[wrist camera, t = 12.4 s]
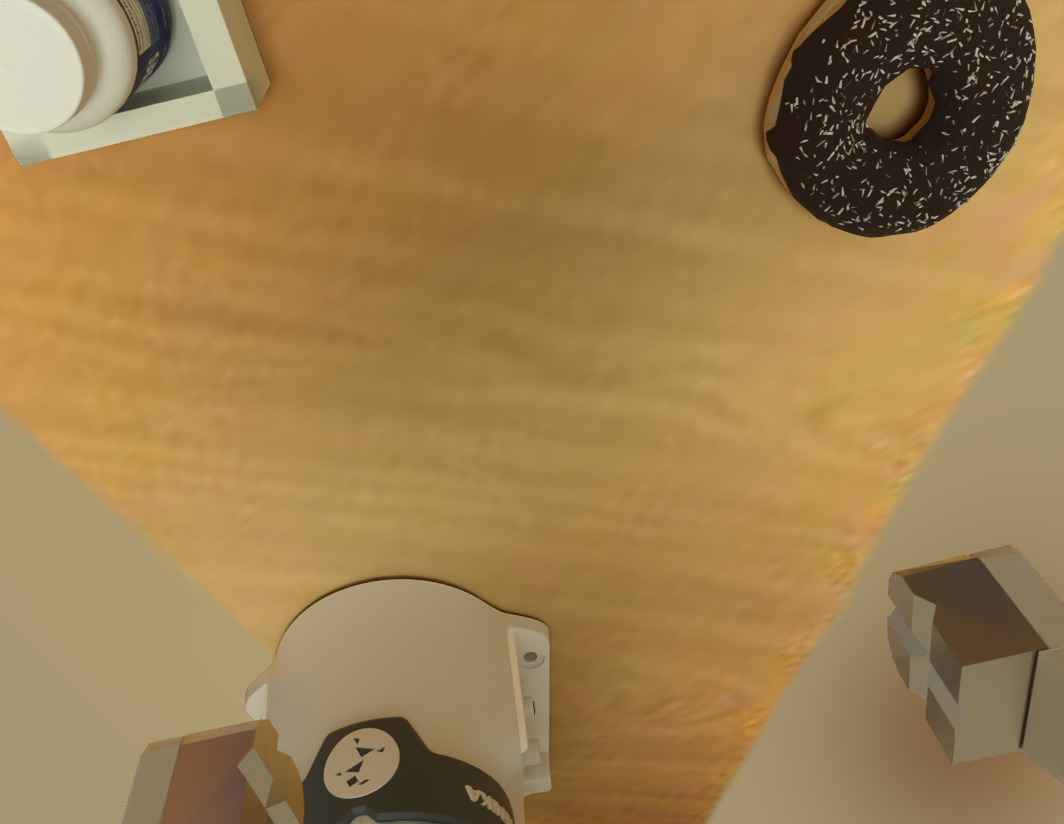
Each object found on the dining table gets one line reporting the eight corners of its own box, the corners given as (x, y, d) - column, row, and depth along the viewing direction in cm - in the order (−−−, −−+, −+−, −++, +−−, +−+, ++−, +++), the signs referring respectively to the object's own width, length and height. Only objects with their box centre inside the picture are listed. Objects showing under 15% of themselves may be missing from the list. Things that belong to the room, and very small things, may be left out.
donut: (720, 190, 42) (747, 222, 38) (827, -95, 36) (871, -87, 32) (927, 237, 44) (970, 271, 41) (1059, -22, 38) (1121, -7, 35)
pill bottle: (82, 105, 36) (-11, 188, 27) (-10, -36, 33) (-145, 9, 25) (206, 51, 35) (148, 118, 27) (123, -98, 32) (31, -73, 24)
